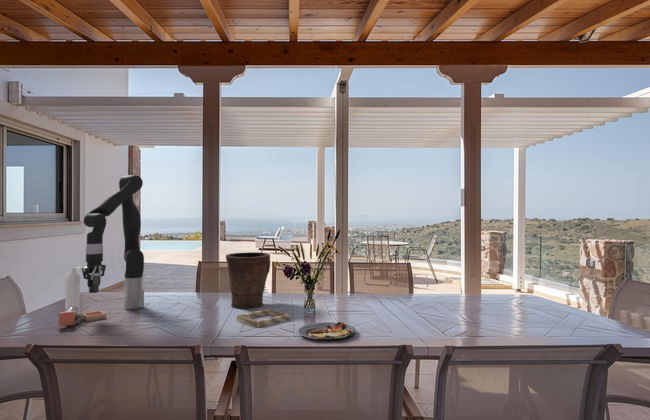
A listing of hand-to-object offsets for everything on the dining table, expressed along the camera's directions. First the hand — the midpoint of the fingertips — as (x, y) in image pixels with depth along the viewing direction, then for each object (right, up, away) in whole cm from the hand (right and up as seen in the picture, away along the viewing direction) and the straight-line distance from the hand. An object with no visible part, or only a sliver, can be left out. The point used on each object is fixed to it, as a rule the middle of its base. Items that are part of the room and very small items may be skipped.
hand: (93, 286), depth 198 cm
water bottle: (-14, -17, +6) cm, 23 cm away
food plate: (+119, -16, -27) cm, 123 cm away
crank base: (-6, -16, -9) cm, 19 cm away
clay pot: (+74, -17, +31) cm, 82 cm away
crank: (-4, -15, -12) cm, 20 cm away
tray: (0, -16, 0) cm, 16 cm away
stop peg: (0, -3, 0) cm, 3 cm away
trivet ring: (+87, -16, -4) cm, 88 cm away
